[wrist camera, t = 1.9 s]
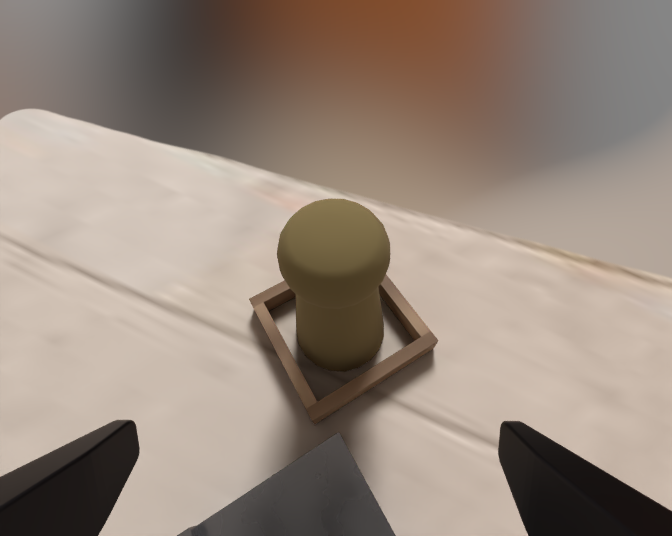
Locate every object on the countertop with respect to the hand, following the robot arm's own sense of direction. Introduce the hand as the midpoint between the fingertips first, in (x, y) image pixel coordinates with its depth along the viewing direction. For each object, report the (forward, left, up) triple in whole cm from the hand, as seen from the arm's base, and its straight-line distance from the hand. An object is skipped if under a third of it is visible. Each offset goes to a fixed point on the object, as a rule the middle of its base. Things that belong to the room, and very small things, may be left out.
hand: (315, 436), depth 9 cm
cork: (+7, -4, -14) cm, 16 cm away
